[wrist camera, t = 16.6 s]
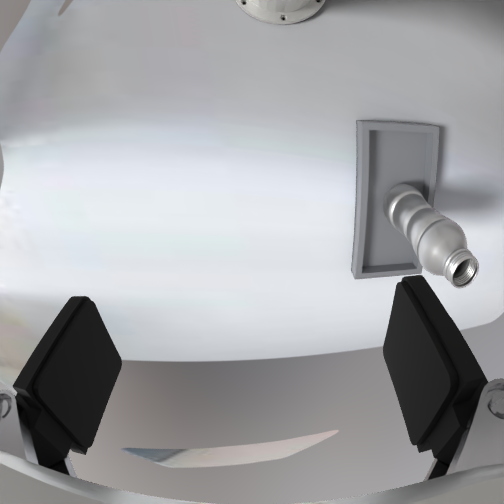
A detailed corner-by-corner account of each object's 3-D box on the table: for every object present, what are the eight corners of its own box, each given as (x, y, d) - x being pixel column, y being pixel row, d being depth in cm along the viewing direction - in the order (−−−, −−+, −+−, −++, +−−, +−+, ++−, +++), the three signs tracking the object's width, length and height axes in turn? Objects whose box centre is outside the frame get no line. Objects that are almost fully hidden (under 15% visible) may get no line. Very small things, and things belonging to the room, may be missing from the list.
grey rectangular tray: (356, 120, 39) (361, 122, 37) (430, 124, 38) (439, 127, 36) (351, 270, 50) (354, 279, 48) (415, 265, 50) (421, 273, 47)
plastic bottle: (420, 184, 42) (498, 247, 25) (409, 224, 45) (472, 301, 28) (384, 176, 42) (455, 238, 24) (373, 218, 45) (429, 298, 28)
